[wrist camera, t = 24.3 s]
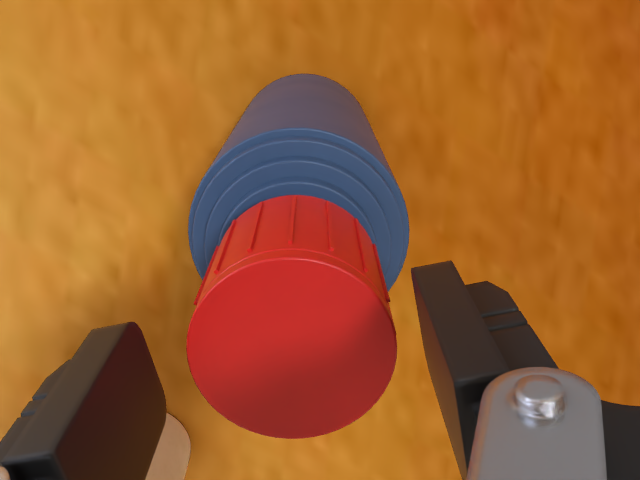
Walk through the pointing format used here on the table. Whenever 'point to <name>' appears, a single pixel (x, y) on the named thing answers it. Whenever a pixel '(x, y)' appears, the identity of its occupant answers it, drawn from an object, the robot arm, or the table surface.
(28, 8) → the table surface
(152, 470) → the candle
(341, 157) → the water bottle
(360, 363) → the cap
